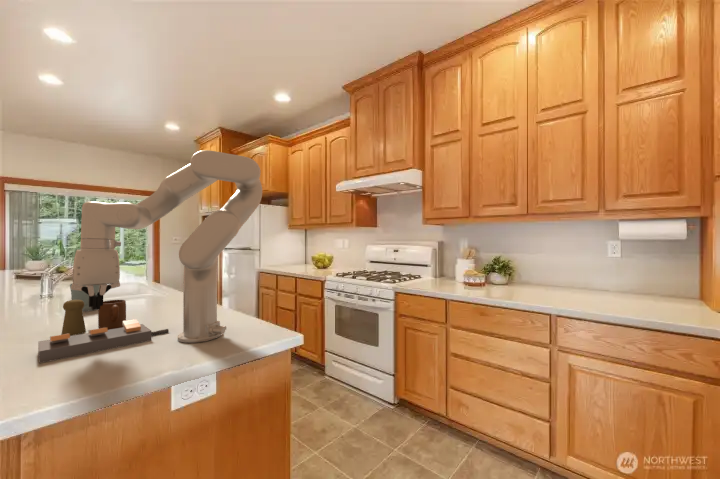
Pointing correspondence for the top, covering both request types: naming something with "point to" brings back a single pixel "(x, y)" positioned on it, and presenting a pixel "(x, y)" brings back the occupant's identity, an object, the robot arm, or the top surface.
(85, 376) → the top surface
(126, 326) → the block
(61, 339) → the rocker
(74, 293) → the grey cup
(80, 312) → the pepper mill
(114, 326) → the mug
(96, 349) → the power strip
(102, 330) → the middle rocker
